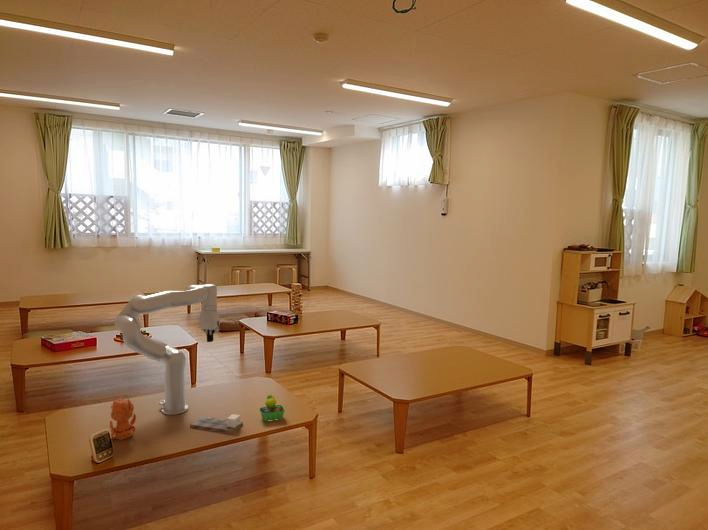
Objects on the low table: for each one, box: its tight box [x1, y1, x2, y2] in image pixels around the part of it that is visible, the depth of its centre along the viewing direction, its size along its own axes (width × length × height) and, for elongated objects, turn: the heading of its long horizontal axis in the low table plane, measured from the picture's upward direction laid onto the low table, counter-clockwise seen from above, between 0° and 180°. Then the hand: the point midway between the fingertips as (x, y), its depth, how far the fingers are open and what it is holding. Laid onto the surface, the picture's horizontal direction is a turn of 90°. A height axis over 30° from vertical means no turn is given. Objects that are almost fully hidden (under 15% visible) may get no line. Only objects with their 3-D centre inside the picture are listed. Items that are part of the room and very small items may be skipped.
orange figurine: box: [109, 396, 137, 441], centre depth 211 cm, size 11×11×18 cm
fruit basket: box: [258, 394, 286, 422], centre depth 234 cm, size 11×9×11 cm
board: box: [189, 415, 244, 435], centre depth 224 cm, size 22×10×2 cm, turn 75°
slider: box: [226, 413, 241, 428], centre depth 222 cm, size 4×5×4 cm
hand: (210, 341), depth 252 cm, fingers closed
